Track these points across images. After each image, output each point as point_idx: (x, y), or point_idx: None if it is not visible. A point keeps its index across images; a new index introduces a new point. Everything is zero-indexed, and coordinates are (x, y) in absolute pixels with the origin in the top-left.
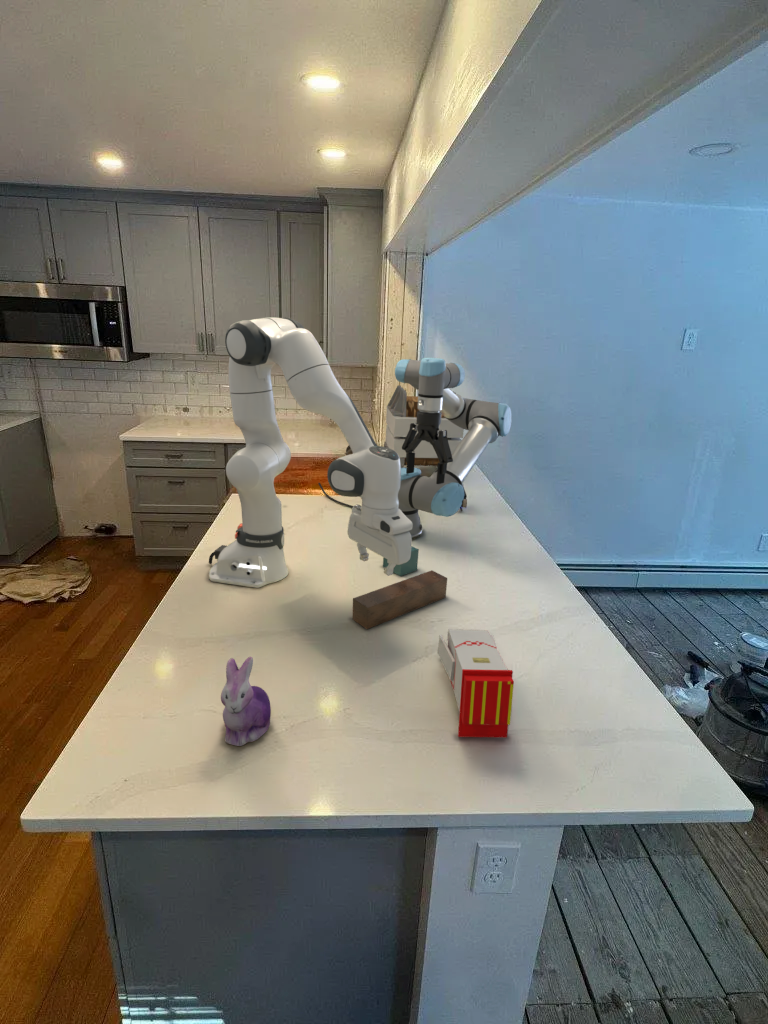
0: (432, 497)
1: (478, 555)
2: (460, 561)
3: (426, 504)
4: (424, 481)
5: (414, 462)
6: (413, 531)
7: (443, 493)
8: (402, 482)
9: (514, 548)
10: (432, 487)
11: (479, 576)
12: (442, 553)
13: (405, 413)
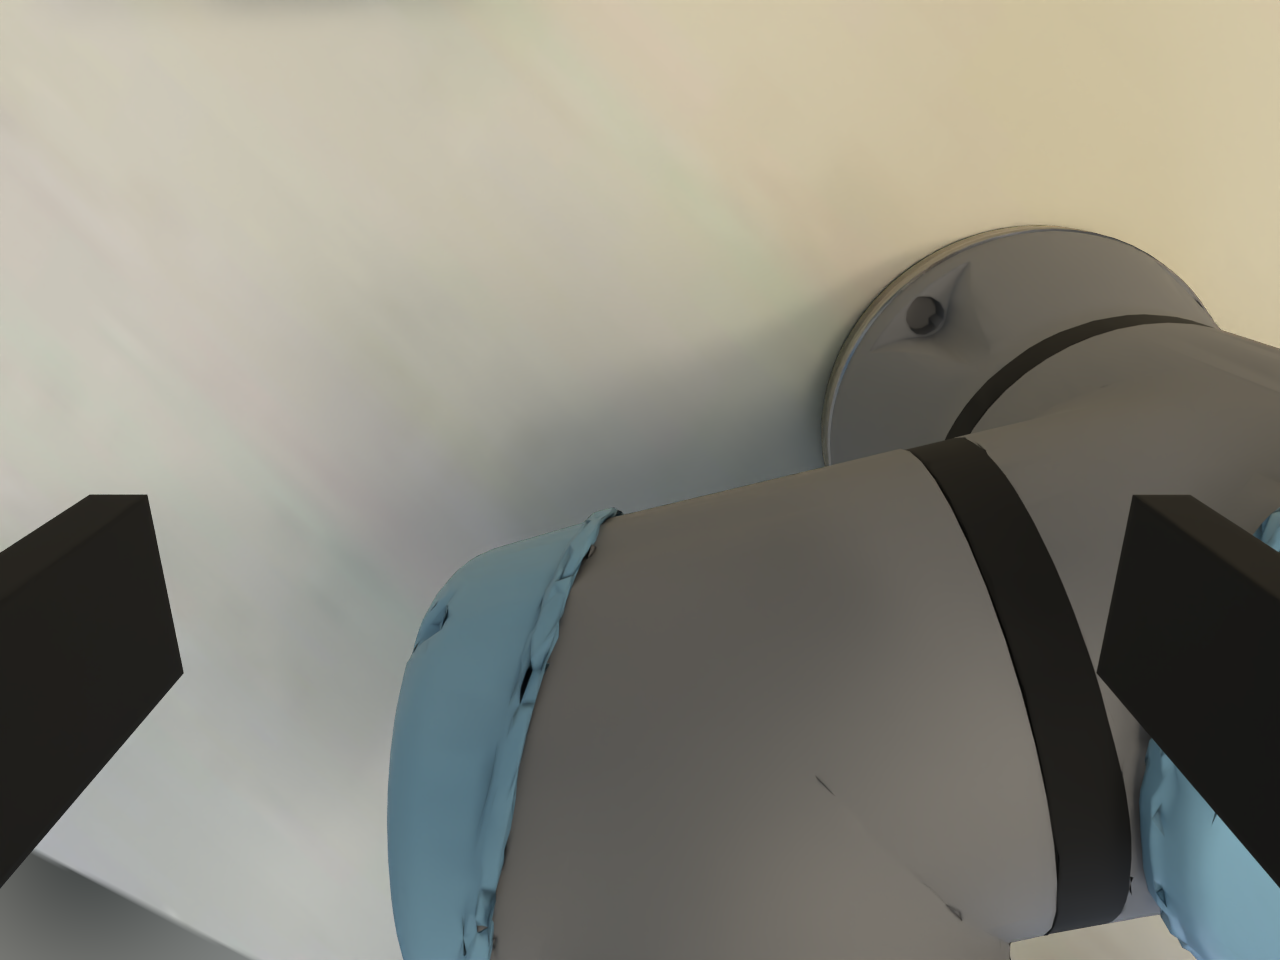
0: (594, 572)
1: (307, 584)
2: (288, 399)
3: (681, 503)
4: (892, 739)
5: (1243, 845)
6: (845, 420)
7: (447, 691)
8: (1234, 515)
9: (278, 851)
10: (666, 693)
11: (4, 316)
12: (478, 394)
13: None
